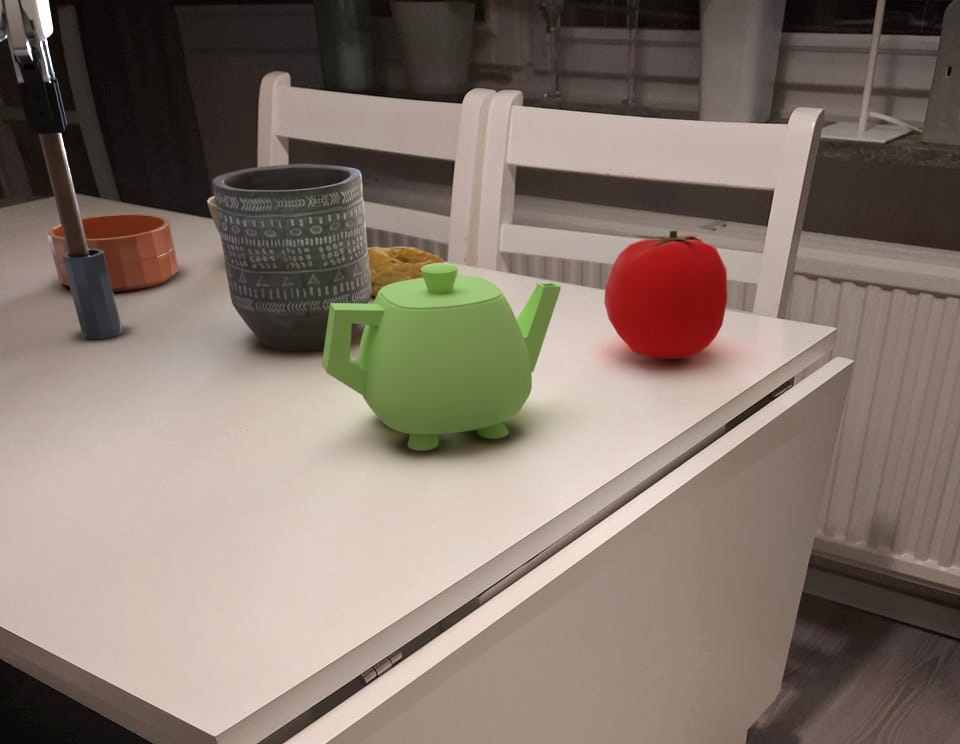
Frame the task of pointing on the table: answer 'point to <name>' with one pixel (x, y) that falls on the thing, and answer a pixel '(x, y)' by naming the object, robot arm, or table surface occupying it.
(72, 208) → the stick
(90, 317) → the tube
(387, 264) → the bagel
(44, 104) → the robot arm
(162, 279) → the bowl
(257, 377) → the table surface
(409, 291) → the teapot
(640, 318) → the tomato
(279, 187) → the planter
